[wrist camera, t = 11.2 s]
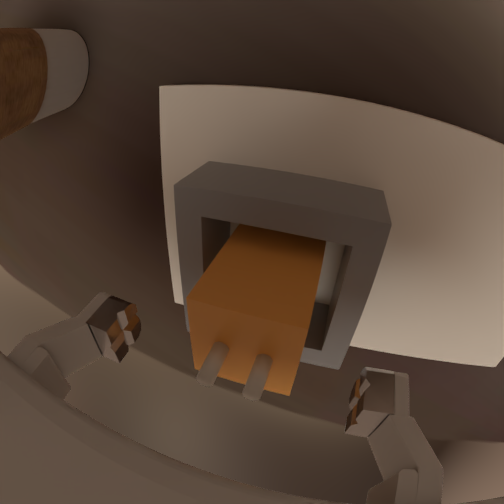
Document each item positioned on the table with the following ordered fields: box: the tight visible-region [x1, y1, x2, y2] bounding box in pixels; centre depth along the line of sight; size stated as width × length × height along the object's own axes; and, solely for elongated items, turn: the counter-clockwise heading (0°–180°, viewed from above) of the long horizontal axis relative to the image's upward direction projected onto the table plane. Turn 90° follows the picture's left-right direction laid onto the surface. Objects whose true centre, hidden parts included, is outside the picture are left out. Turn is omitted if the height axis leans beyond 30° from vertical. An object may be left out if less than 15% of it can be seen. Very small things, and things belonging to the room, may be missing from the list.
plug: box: [186, 224, 326, 401], centre depth 13 cm, size 4×4×9 cm
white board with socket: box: [159, 84, 504, 370], centre depth 14 cm, size 14×24×4 cm, turn 87°
